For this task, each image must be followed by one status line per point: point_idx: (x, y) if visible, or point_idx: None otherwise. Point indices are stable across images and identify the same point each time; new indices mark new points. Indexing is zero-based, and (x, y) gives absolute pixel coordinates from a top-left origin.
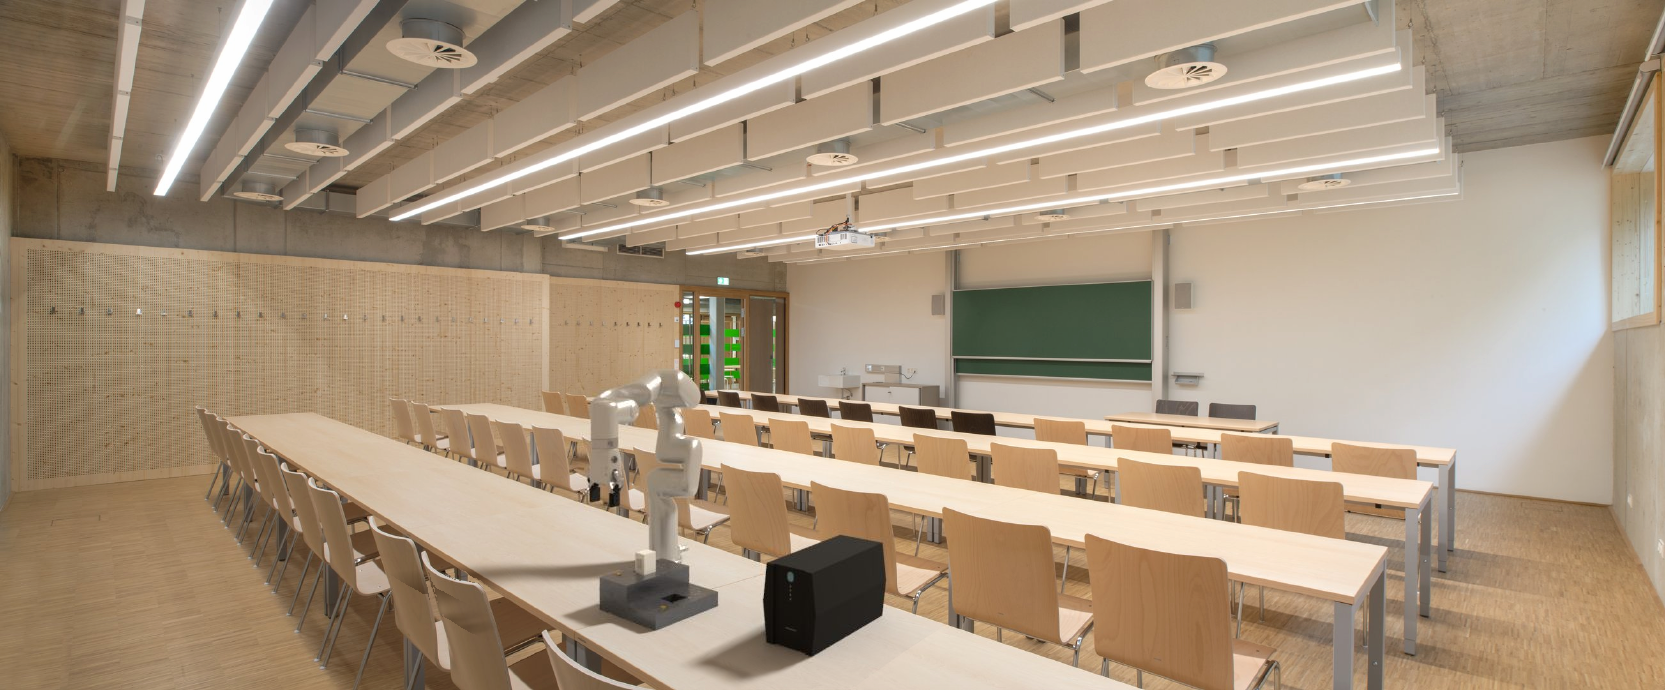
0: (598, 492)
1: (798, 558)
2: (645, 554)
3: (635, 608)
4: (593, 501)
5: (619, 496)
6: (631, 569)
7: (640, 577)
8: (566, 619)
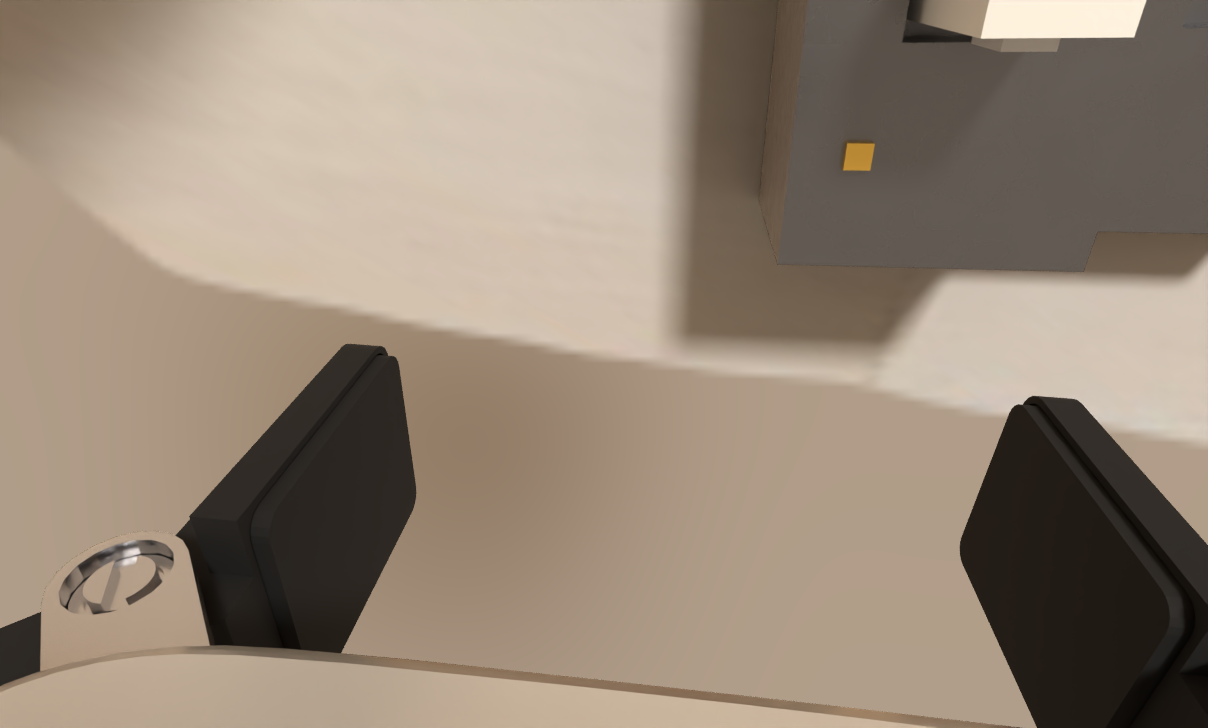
0: (332, 483)
1: None
2: (1136, 19)
3: (1115, 231)
4: (410, 467)
5: (1178, 527)
6: (852, 6)
7: (1061, 93)
8: (731, 360)
